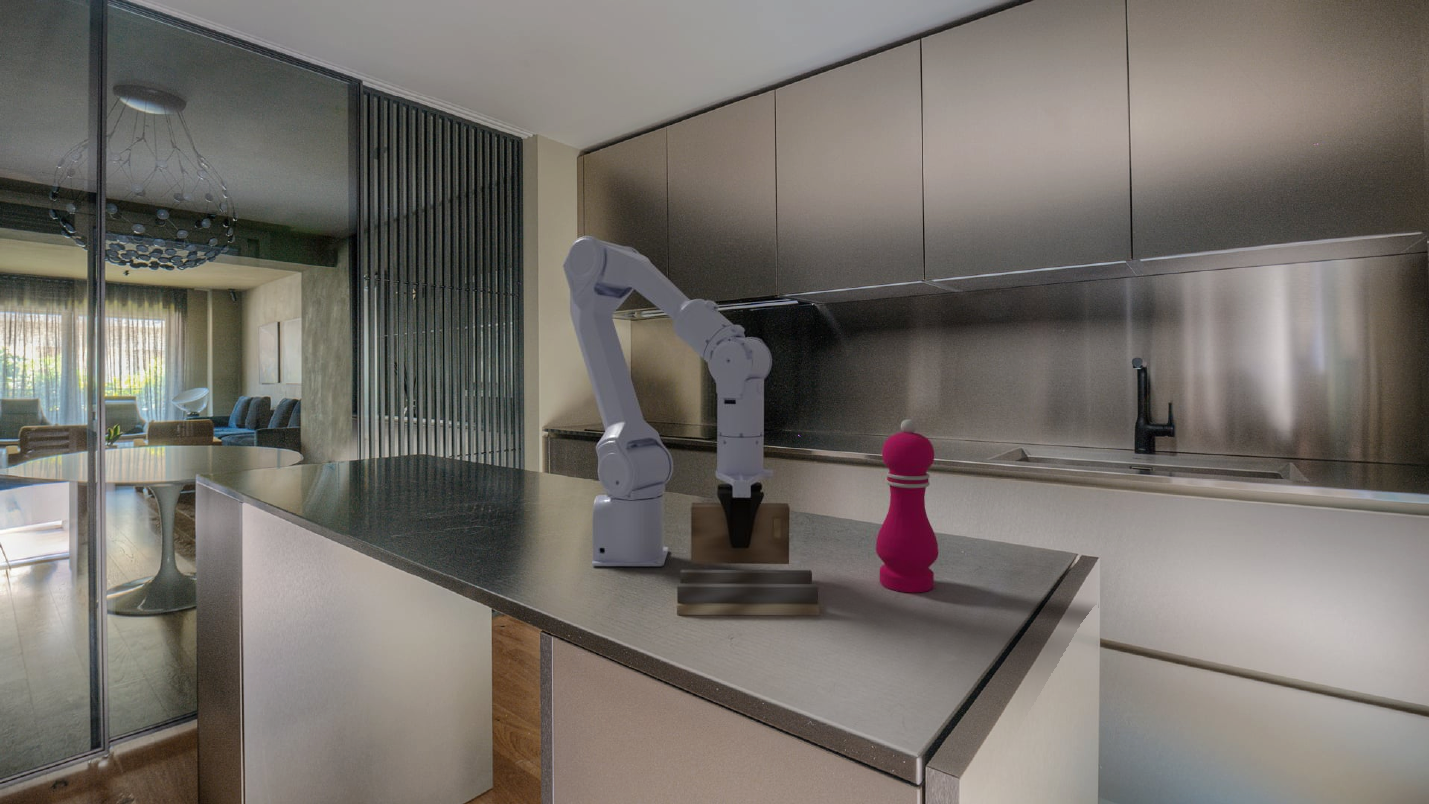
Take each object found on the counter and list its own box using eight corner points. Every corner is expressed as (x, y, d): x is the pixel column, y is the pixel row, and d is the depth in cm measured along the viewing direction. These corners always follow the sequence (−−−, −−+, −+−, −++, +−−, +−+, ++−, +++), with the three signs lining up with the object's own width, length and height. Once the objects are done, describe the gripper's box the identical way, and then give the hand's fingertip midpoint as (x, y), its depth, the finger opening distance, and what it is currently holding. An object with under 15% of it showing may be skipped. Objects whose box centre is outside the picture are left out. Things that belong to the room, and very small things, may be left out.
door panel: (691, 564, 77) (691, 507, 77) (692, 557, 80) (692, 502, 80) (789, 564, 77) (789, 507, 77) (787, 558, 80) (787, 503, 79)
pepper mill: (942, 596, 72) (944, 422, 71) (876, 592, 74) (878, 421, 73) (933, 576, 79) (935, 417, 78) (873, 573, 81) (875, 416, 80)
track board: (676, 614, 67) (676, 588, 67) (681, 591, 74) (681, 568, 74) (819, 615, 67) (819, 589, 66) (810, 592, 74) (810, 568, 73)
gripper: (777, 441, 71) (776, 561, 71) (768, 429, 85) (768, 529, 86) (714, 441, 71) (714, 561, 71) (716, 429, 85) (716, 529, 86)
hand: (739, 544), depth 79 cm, fingers closed on door panel, 2 cm apart
